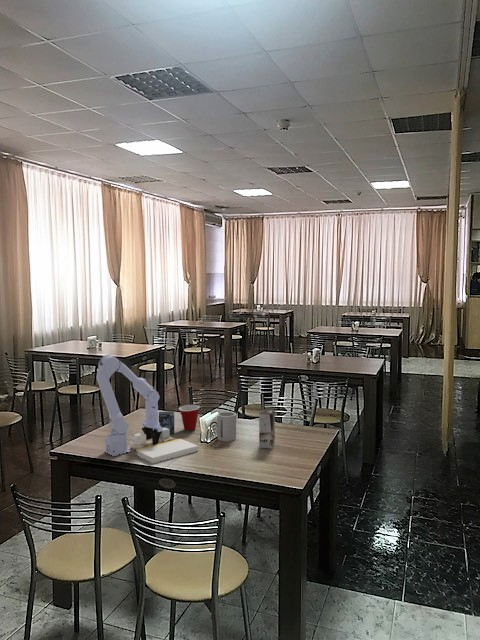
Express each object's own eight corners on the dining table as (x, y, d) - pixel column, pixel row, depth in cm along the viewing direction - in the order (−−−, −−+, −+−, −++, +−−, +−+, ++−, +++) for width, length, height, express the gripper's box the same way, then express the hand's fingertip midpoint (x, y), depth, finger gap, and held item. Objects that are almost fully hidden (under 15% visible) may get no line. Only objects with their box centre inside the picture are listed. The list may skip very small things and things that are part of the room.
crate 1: (138, 445, 236) (138, 436, 236) (133, 443, 239) (133, 434, 239) (146, 443, 239) (146, 434, 239) (141, 441, 242) (141, 432, 242)
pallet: (140, 453, 234) (140, 446, 234) (130, 448, 241) (130, 442, 241) (173, 444, 246) (173, 438, 246) (163, 440, 253) (163, 434, 253)
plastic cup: (177, 427, 274) (176, 405, 273) (197, 425, 278) (197, 403, 277) (181, 433, 264) (180, 410, 263) (202, 431, 267) (201, 408, 266)
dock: (152, 463, 221) (152, 457, 221) (135, 455, 232) (135, 449, 231) (198, 451, 237) (198, 445, 237) (180, 443, 248) (180, 438, 247)
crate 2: (162, 439, 245) (162, 430, 245) (157, 437, 248) (157, 429, 248) (169, 437, 248) (169, 429, 247) (164, 435, 251) (164, 427, 250)
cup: (237, 435, 260) (236, 411, 259) (235, 441, 251) (234, 416, 250) (218, 435, 261) (218, 411, 260) (216, 440, 252) (216, 416, 251)
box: (158, 435, 262) (158, 414, 261) (159, 431, 267) (158, 411, 266) (174, 434, 263) (174, 413, 262) (174, 431, 268) (174, 410, 268)
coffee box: (272, 448, 240) (272, 414, 239) (258, 448, 241) (258, 413, 240) (275, 442, 249) (275, 409, 248) (261, 441, 250) (261, 408, 249)
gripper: (167, 416, 240) (168, 445, 241) (150, 410, 251) (151, 438, 252) (154, 419, 235) (155, 448, 236) (137, 413, 246) (138, 441, 247)
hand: (152, 443), depth 244 cm, fingers closed on pallet, 5 cm apart
